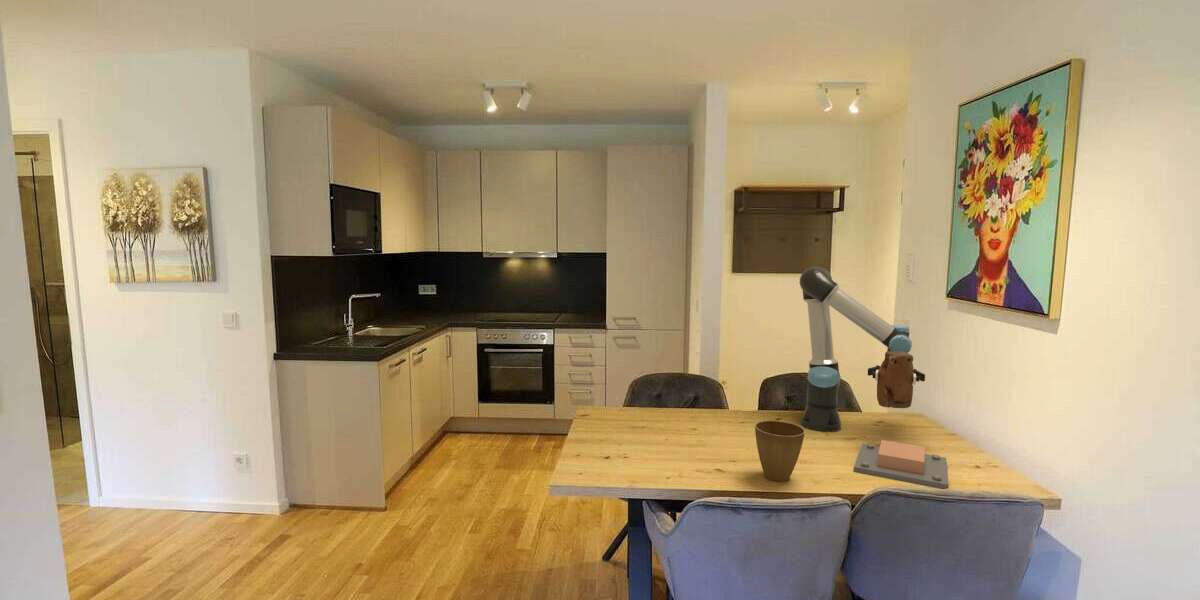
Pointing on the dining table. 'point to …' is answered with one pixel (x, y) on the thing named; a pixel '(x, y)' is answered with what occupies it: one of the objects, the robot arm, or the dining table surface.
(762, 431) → the plant pot
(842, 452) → the dining table surface
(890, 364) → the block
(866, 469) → the tower base
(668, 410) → the dining table surface
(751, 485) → the dining table surface
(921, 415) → the dining table surface
